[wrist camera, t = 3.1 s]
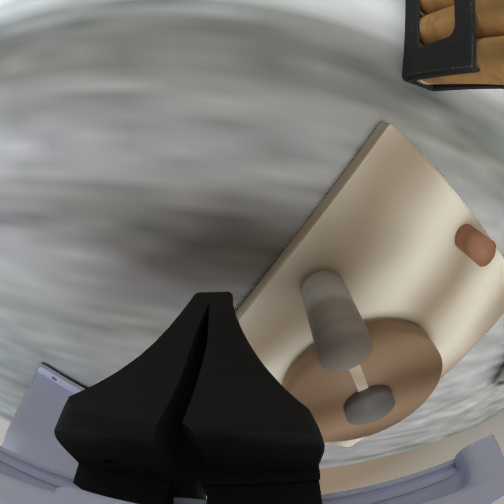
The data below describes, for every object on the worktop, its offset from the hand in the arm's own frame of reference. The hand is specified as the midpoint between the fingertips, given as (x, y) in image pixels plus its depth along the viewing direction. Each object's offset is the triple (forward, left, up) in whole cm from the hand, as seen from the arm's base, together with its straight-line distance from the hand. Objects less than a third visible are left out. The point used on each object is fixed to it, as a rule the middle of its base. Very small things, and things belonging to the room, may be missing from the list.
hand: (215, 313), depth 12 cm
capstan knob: (+9, -1, -2) cm, 9 cm away
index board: (+10, 0, -3) cm, 10 cm away
